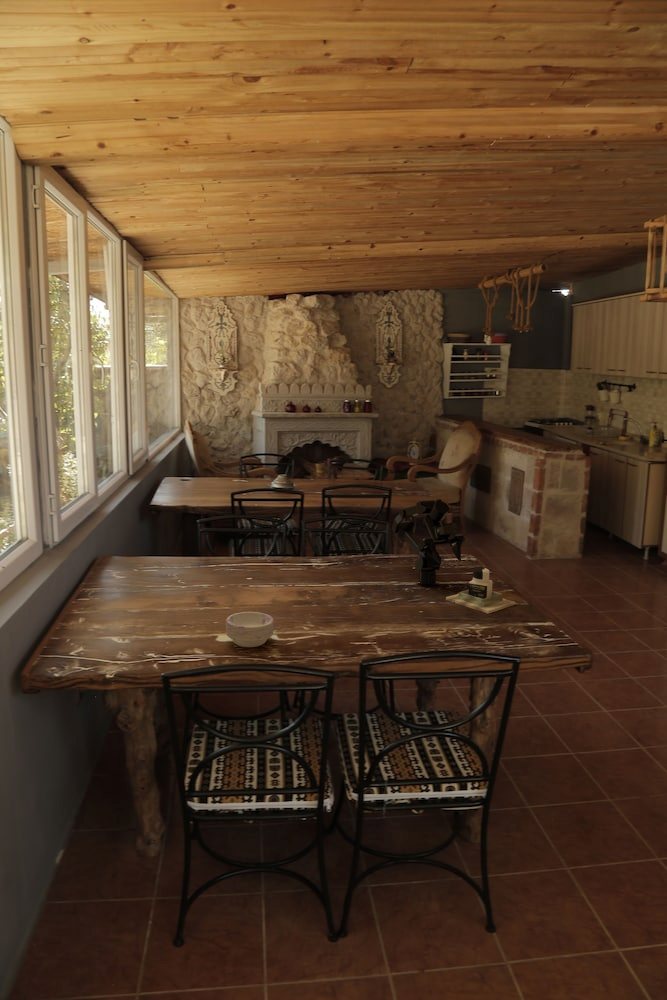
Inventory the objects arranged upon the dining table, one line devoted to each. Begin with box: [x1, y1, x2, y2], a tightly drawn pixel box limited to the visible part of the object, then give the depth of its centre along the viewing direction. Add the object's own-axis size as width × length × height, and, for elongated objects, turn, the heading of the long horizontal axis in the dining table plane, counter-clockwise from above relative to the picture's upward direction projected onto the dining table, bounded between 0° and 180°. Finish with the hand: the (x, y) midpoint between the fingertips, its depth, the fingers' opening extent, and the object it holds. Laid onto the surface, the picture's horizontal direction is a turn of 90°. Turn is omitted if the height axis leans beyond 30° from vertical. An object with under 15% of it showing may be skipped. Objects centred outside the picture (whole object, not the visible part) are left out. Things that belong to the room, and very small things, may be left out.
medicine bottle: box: [468, 567, 493, 599], centre depth 285 cm, size 7×7×12 cm
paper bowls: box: [225, 611, 275, 648], centre depth 243 cm, size 15×15×8 cm
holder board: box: [445, 589, 516, 614], centre depth 286 cm, size 20×16×4 cm
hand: (450, 561), depth 291 cm, fingers open, 9 cm apart
